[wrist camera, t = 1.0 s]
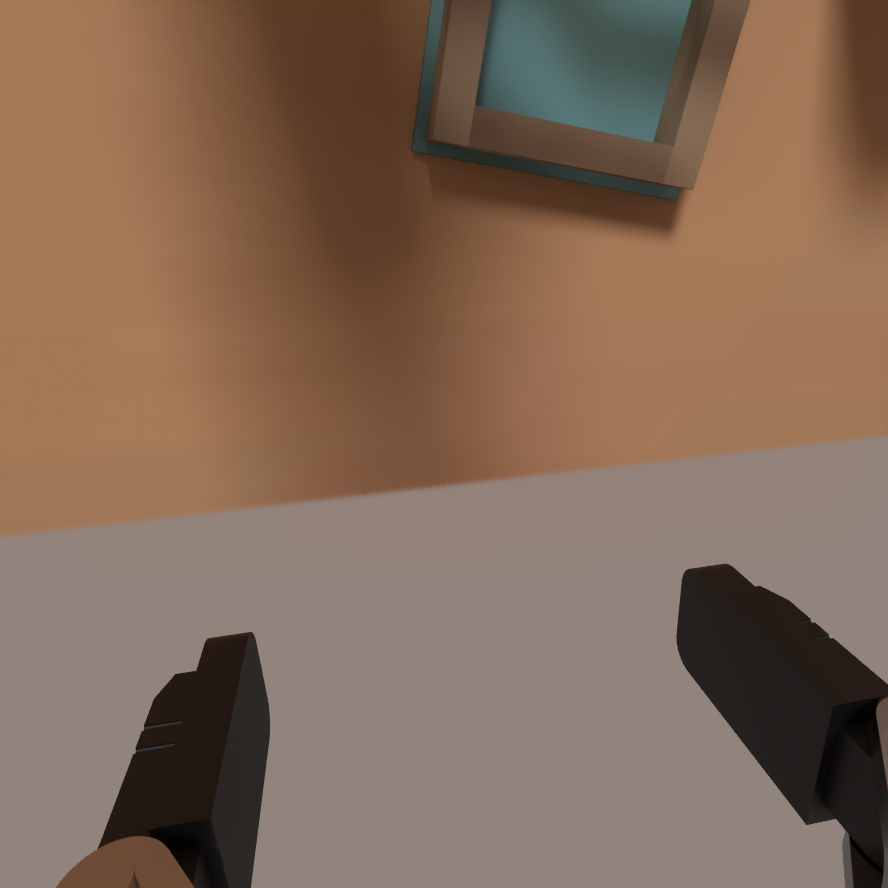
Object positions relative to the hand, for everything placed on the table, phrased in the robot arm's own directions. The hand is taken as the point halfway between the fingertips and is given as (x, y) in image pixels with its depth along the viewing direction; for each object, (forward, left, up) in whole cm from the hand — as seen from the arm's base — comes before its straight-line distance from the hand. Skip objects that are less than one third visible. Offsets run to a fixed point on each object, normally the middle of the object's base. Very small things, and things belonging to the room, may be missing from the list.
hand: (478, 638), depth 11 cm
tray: (-16, -4, -21) cm, 27 cm away
